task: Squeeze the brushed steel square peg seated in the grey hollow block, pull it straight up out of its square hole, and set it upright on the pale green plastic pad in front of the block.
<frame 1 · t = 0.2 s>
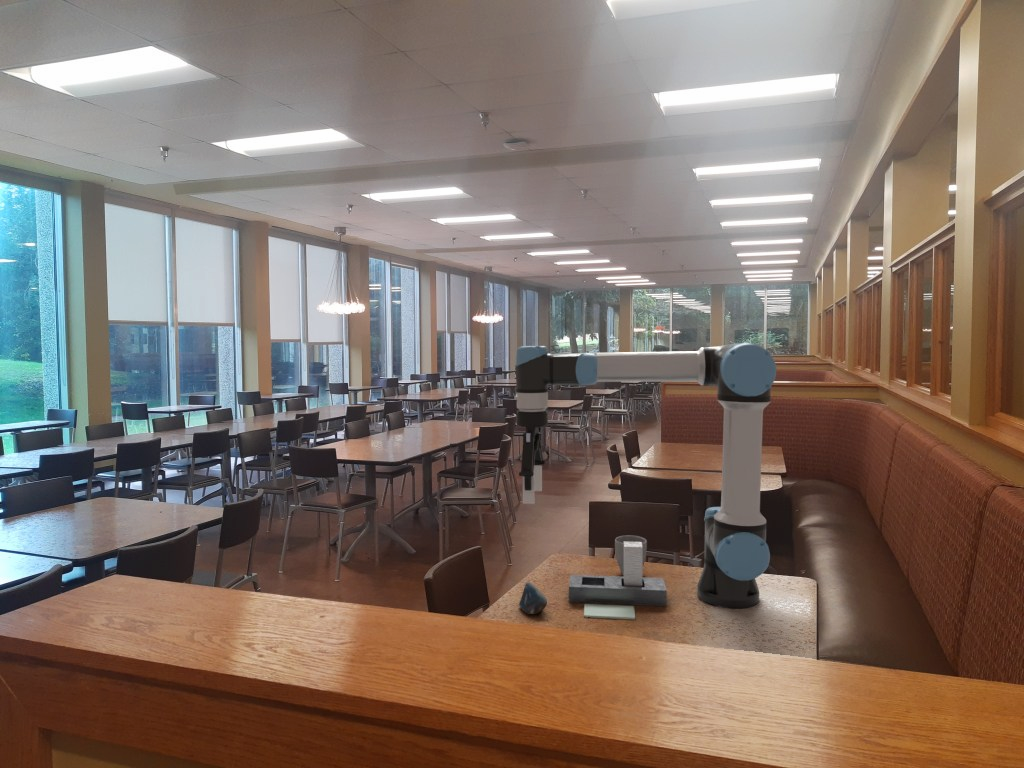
hand: (532, 497, 166), 28 cm above the table, fingers open, 13 cm apart
green pad: (609, 612, 165), on the table
steel peg: (632, 598, 174), resting in grey hollow block
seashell: (535, 610, 168), on the table
mug: (630, 575, 192), on the table
grey hollow block: (616, 597, 175), on the table
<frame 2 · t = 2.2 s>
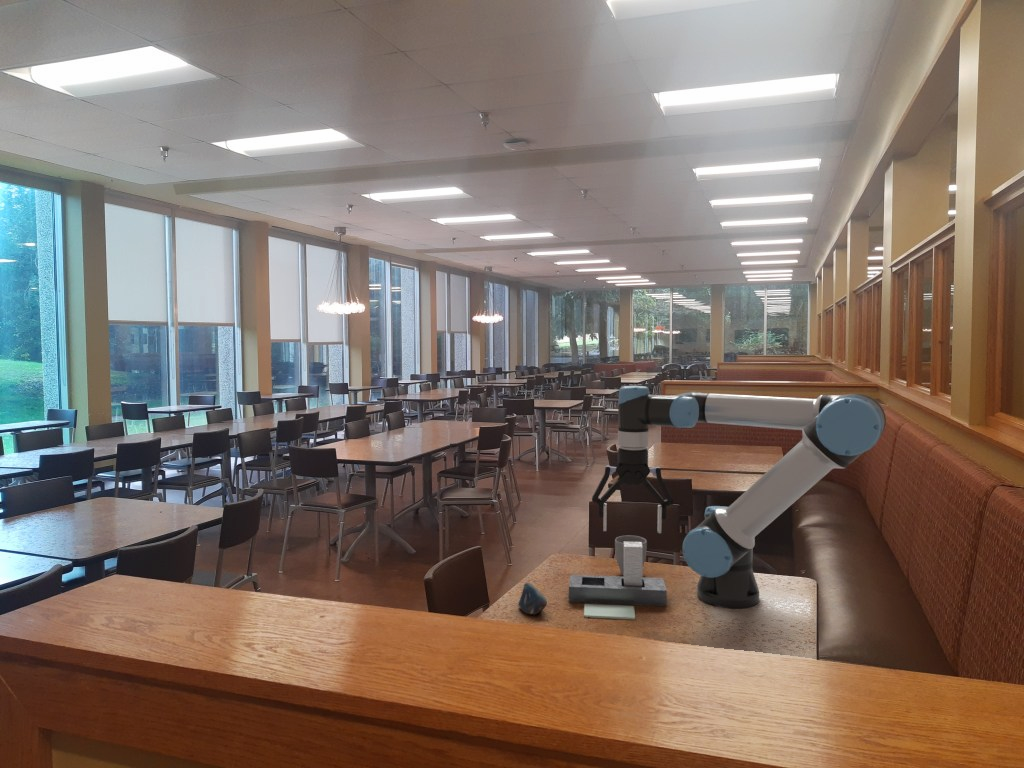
hand: (632, 530, 173), 17 cm above the table, fingers open, 13 cm apart
nothing on the table moved.
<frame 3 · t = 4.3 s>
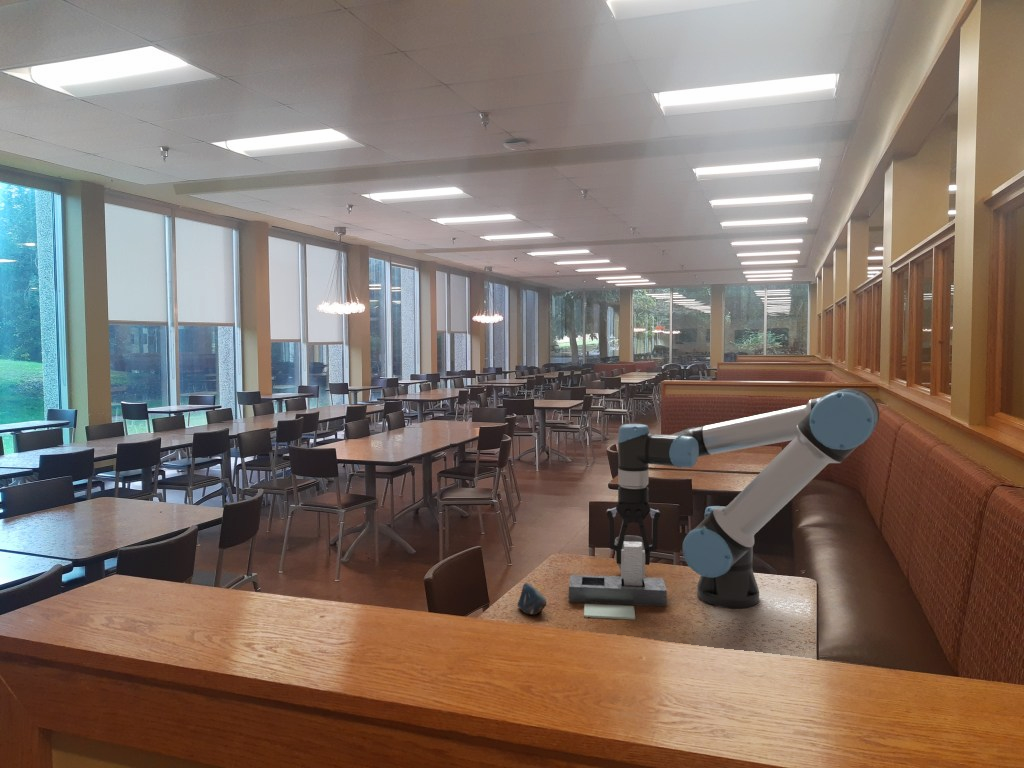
hand: (632, 576, 174), 6 cm above the table, fingers closed on steel peg, 4 cm apart
steel peg: (632, 598, 174), resting in grey hollow block, touching gripper
everything else where it was.
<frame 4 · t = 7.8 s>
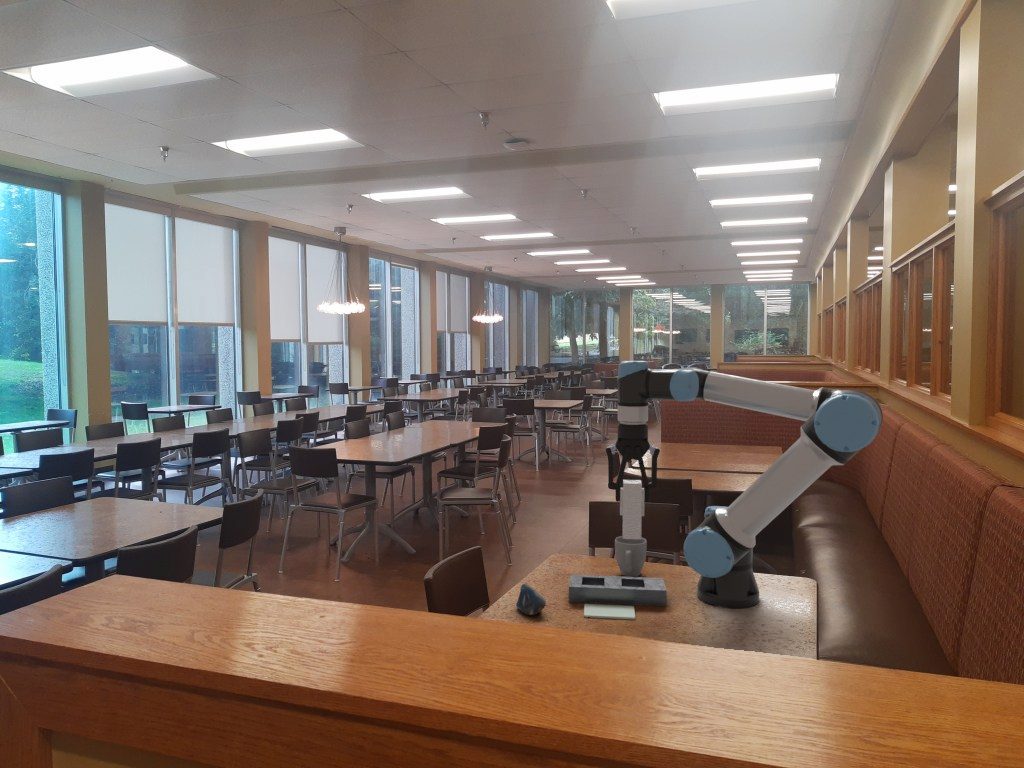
hand: (632, 514, 173), 22 cm above the table, fingers closed on steel peg, 4 cm apart
steel peg: (631, 536, 173), point 16 cm above the table, touching gripper
everything else where it was.
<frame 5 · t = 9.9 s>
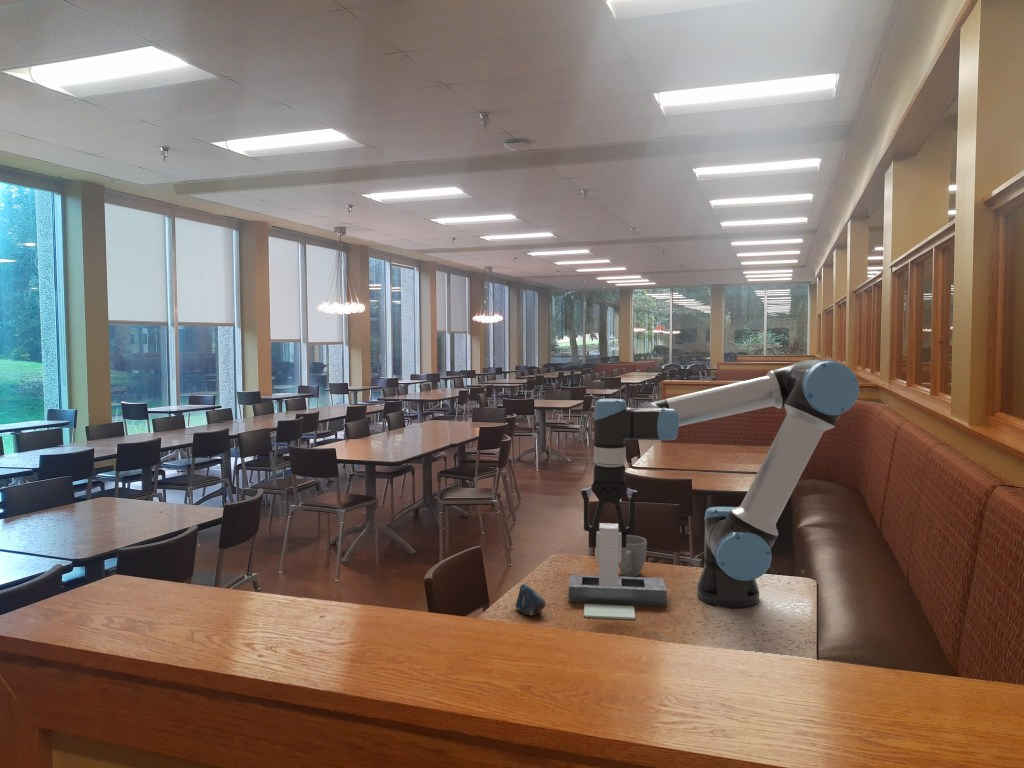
hand: (608, 560, 164), 13 cm above the table, fingers closed on steel peg, 4 cm apart
steel peg: (608, 583, 165), point 7 cm above the table, touching gripper
when the fingers open (7 cm above the table, at t = 11.4 s): steel peg stays where it is, resting on green pad.
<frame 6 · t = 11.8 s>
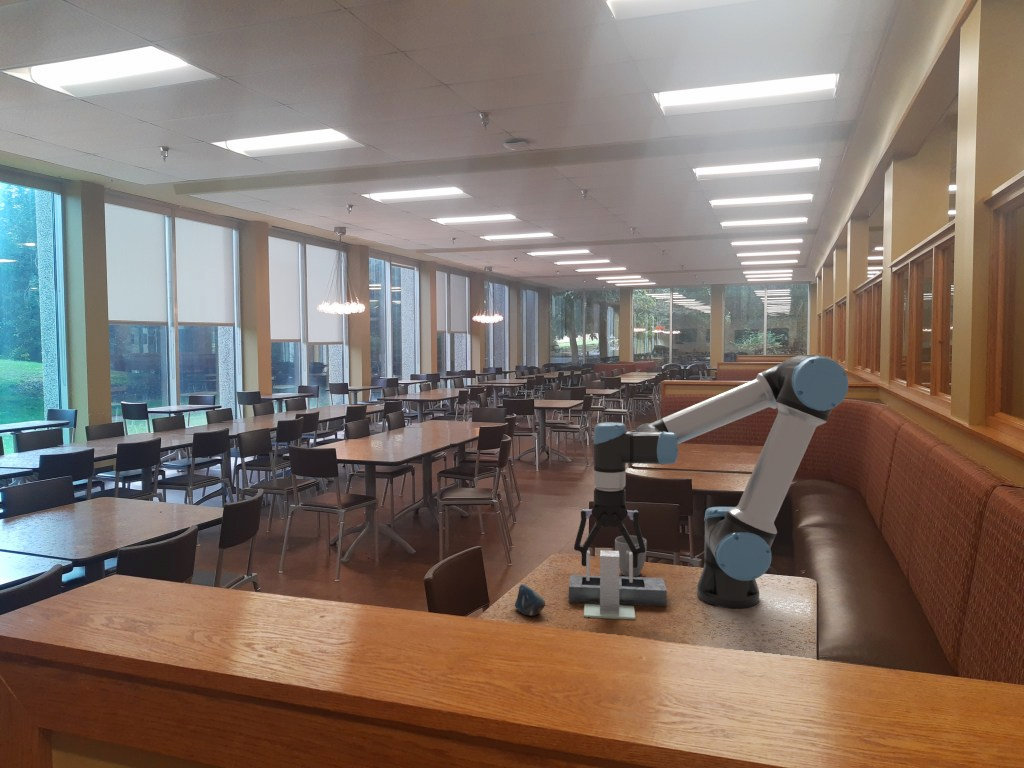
hand: (609, 579, 165), 8 cm above the table, fingers open, 9 cm apart
steel peg: (609, 610, 165), resting on green pad
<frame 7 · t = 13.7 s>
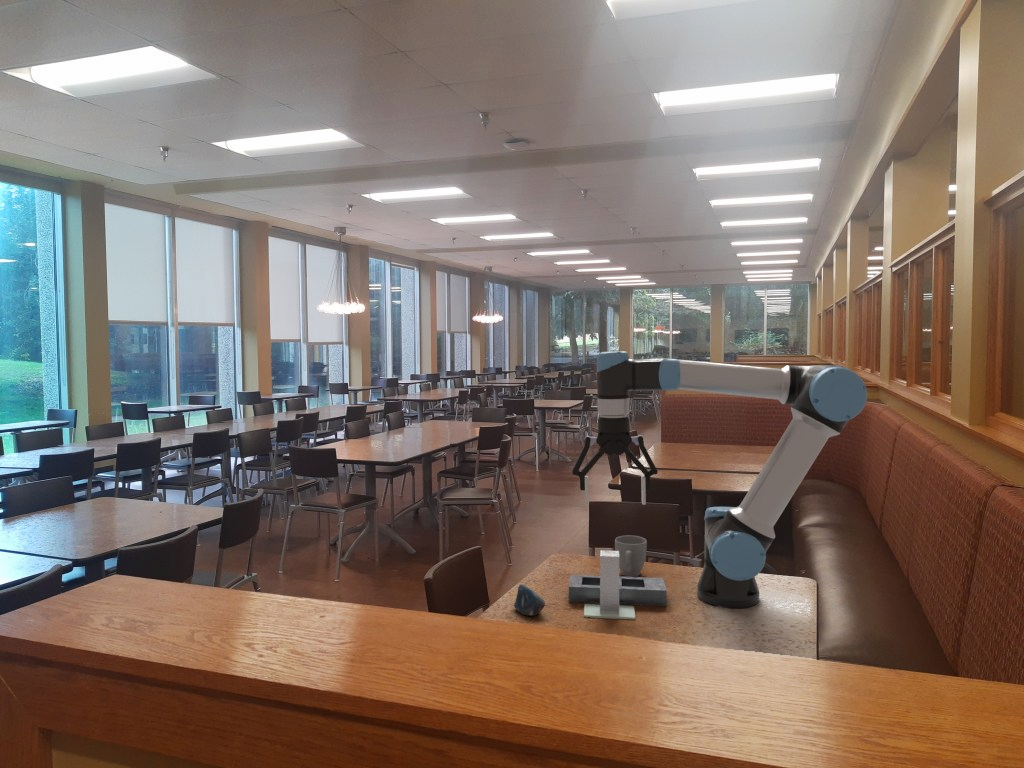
hand: (615, 503, 165), 26 cm above the table, fingers open, 13 cm apart
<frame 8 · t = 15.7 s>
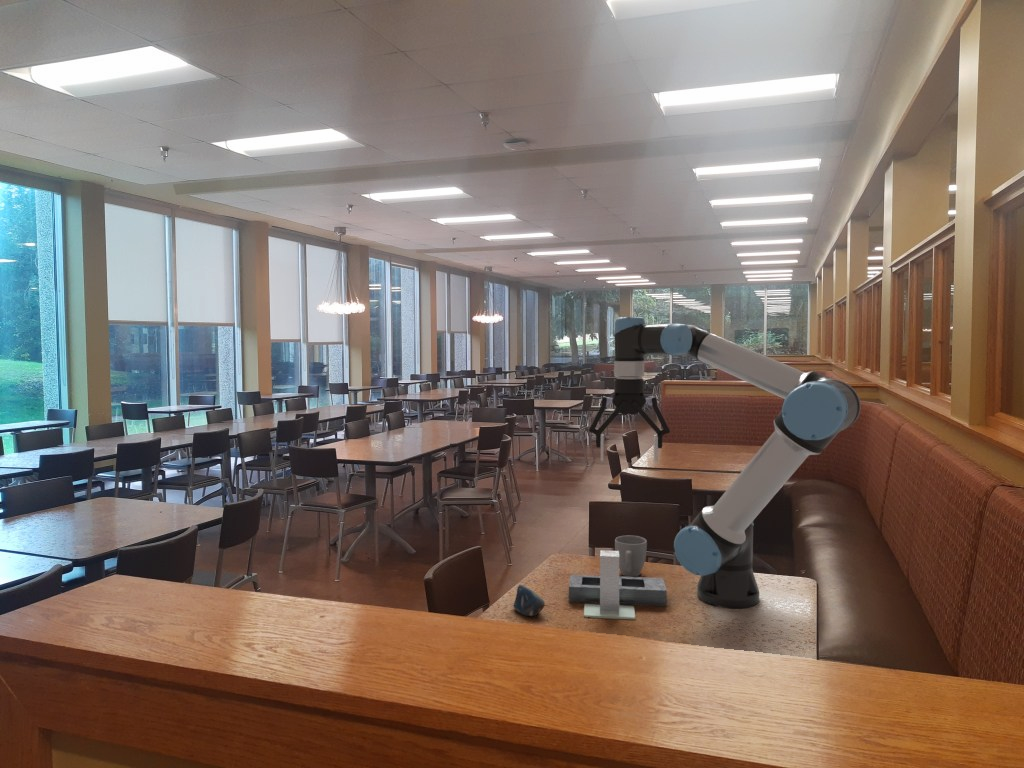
hand: (628, 460, 176), 35 cm above the table, fingers open, 13 cm apart
at the end: steel peg inside the target area (0.0 cm from its centre), point 0.5 cm above the table; steel peg tilted 0°; the gripper is holding nothing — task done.
